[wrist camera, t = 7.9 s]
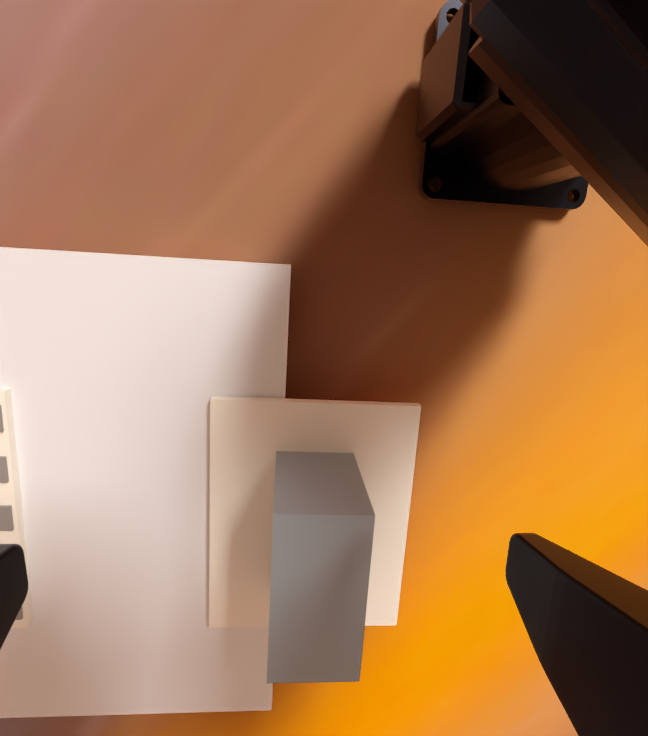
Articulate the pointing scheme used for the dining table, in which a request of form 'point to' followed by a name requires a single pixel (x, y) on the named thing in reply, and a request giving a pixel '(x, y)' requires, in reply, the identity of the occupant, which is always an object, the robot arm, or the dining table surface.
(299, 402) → the cream plate grey block
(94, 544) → the board
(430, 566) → the dining table surface
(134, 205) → the dining table surface
